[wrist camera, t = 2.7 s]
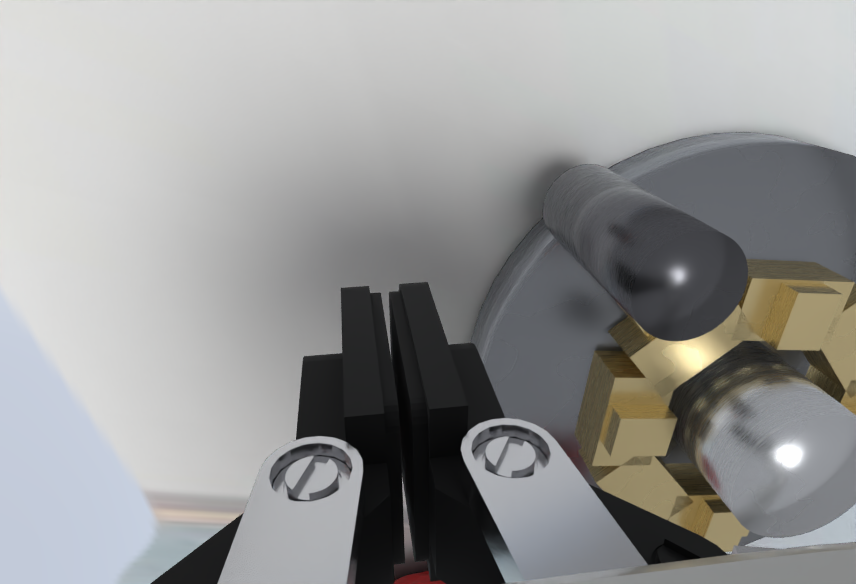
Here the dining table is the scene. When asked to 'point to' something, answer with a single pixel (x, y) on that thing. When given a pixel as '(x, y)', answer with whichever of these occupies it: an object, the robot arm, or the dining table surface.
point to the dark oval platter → (728, 375)
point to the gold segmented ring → (683, 333)
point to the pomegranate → (417, 579)
